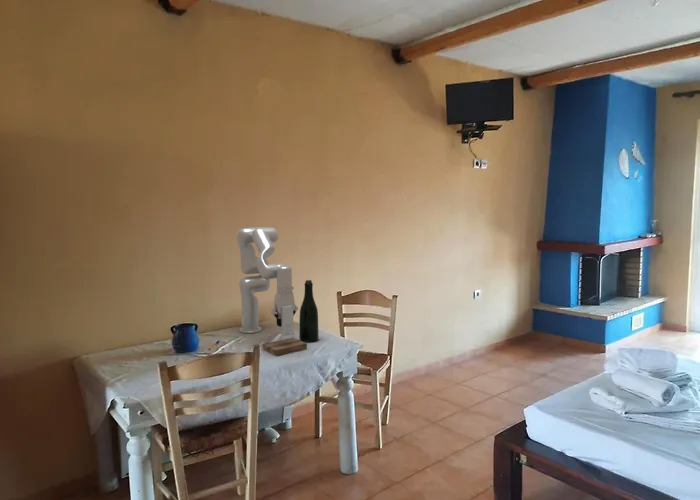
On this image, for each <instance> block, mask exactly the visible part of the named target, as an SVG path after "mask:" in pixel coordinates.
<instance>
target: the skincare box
mask: <svg viewBox="0 0 700 500" xmlns="http://www.w3.org/2000/svg"><path fill="white" fill-rule="evenodd" d="M275 313H276V314H277V312H275ZM280 319H281V327H280V326H277V325H276V329H277V331H276V332H277V333H278V334H280V335H282V336H283V337H284V336H285V337H286V336H291V335H295V329H294V327H295V326H294V316H293V306H292V305H289V306H284V307H282V313H281V317H280Z"/></svg>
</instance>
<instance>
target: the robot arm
mask: <svg viewBox="0 0 700 500" xmlns="http://www.w3.org/2000/svg"><path fill="white" fill-rule="evenodd" d="M278 240H279V232H278V230H277V229H276V228H275V227H270V226H269V227H268V226H261V227H259V226H257V227H243V228H239V230H237V233H236V242H237V244H238V248H239V257H240V259H239V260H240V270H241V272H242V273H243V274H244V275H250V276H245V277H242V278H241V279H240V280H239V282H238V285H239V291H240V298H241V299H240V301H241V302H240V303H241V322H240V324H241V327H239V329H238V330H239V331H238V332H240V333H242V334H256V333H260V332H262V327H261V326H259V323H260V321H259V318H260V317H259V316H260V315H259V299H258V298H257V296H256V295H255V293H262V292H263V293H264V292H267V291H269V290H270V285H271V281H270V280H274V279H276V292H275V294H274V300H273V309H272V310H271V311H270V313H271V314H272V315H273V316H274V317H275V318H276V327H277V326H280V327H281V319H280V317H281V313H282V307H284V306H289V305H292V306H293V317H294V316H295V315H296V312H297V311H298V309H299V307H298V306H297V305H296V303H295V302H296V301H295V295H294V292H293V290H294V286H293V282H292V280H293V273H292V270H293V269H292V267H291V265H287V264H285V263H269V261H268V258H269V257H270V256H272V255H273V254H274V253H275V250H276V248H275V246H274V243H276V242H277V241H278ZM252 243H254V245H255V246H254V245H253V244H252ZM255 247H256V249H257V251H258V255H257V256H256V249H255ZM253 274H256V275H253ZM257 274H259V275H257ZM276 312H277V313H276Z"/></svg>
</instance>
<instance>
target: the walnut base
mask: <svg viewBox="0 0 700 500" xmlns="http://www.w3.org/2000/svg"><path fill="white" fill-rule="evenodd" d="M262 348H263V351H265V352H267V353H269V354H270V355H271V354H272V355H273V356H275V357H280V356H284V355H288V354H292V353H297V352H302V351H305V350H307V349H308V342H303V341H300V339H297V338H295V337H291V338H290V337H289V338H285V339H280V340H275V341H272V342H268V343H263V346H262Z"/></svg>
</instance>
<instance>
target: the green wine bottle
mask: <svg viewBox="0 0 700 500" xmlns="http://www.w3.org/2000/svg"><path fill="white" fill-rule="evenodd" d="M303 286H304V295H303V301H302V302H301V305H300V308H299V320H298V321H299V323H298V325H299V326H298V327H299V329H298V330H299V331H298V332H299V333H298V334H299V335H298V336H299V337H298V338H299V339H298V340H300V341H302V342H305V343H313V342H316V341H318V340H319V338H320V337H319V334H320V333H319V331H320V330H319V312H318V307H317V304H316V302H315V298H314V293H313V291H314V290H313V288H314V287H313V286H314V284H313V282H312V280H311V279H306V280H305V281H304V285H303Z"/></svg>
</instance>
